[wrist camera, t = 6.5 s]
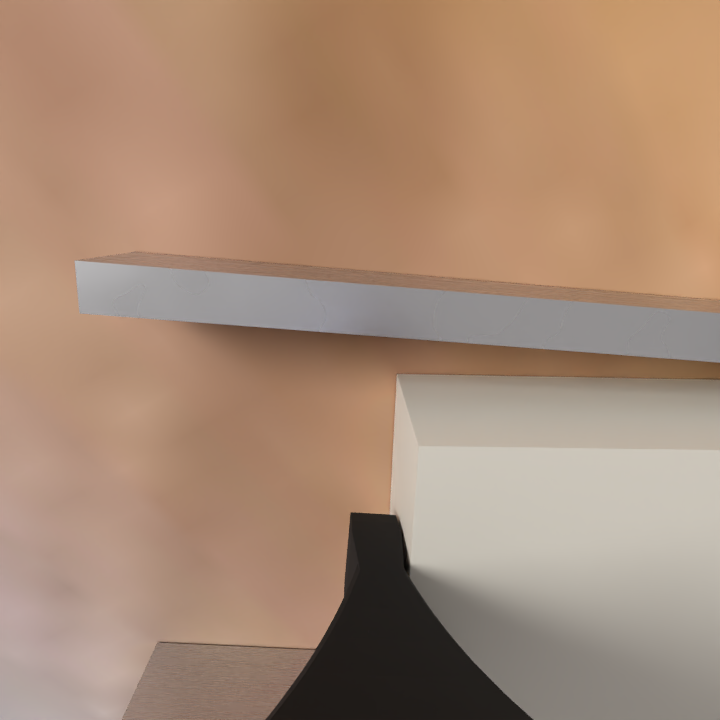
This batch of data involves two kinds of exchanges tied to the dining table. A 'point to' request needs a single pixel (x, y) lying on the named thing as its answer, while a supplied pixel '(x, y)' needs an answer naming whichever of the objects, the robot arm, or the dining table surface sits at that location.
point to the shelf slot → (373, 318)
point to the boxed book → (569, 536)
